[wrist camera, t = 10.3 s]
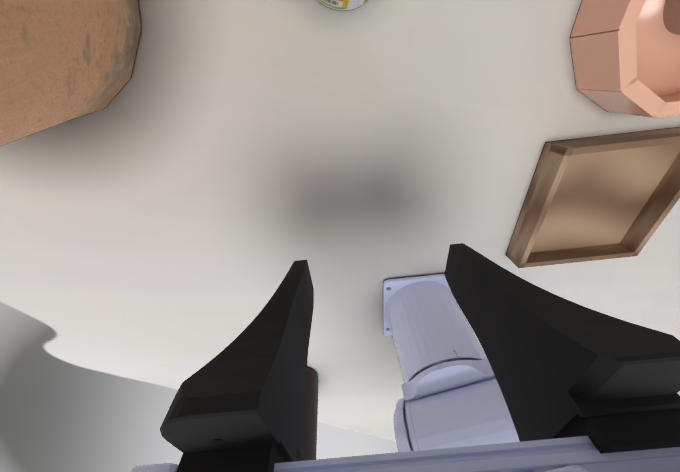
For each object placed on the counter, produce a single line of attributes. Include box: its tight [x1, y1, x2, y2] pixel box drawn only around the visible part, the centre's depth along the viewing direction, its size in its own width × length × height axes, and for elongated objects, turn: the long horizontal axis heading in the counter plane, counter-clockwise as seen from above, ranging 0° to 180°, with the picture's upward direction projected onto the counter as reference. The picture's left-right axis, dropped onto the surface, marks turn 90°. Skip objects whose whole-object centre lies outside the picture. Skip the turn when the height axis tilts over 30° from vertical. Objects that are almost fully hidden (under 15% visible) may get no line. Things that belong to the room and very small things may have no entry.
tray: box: [506, 127, 680, 268], centre depth 21 cm, size 11×11×2 cm
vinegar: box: [306, 367, 318, 461], centre depth 28 cm, size 7×7×20 cm
